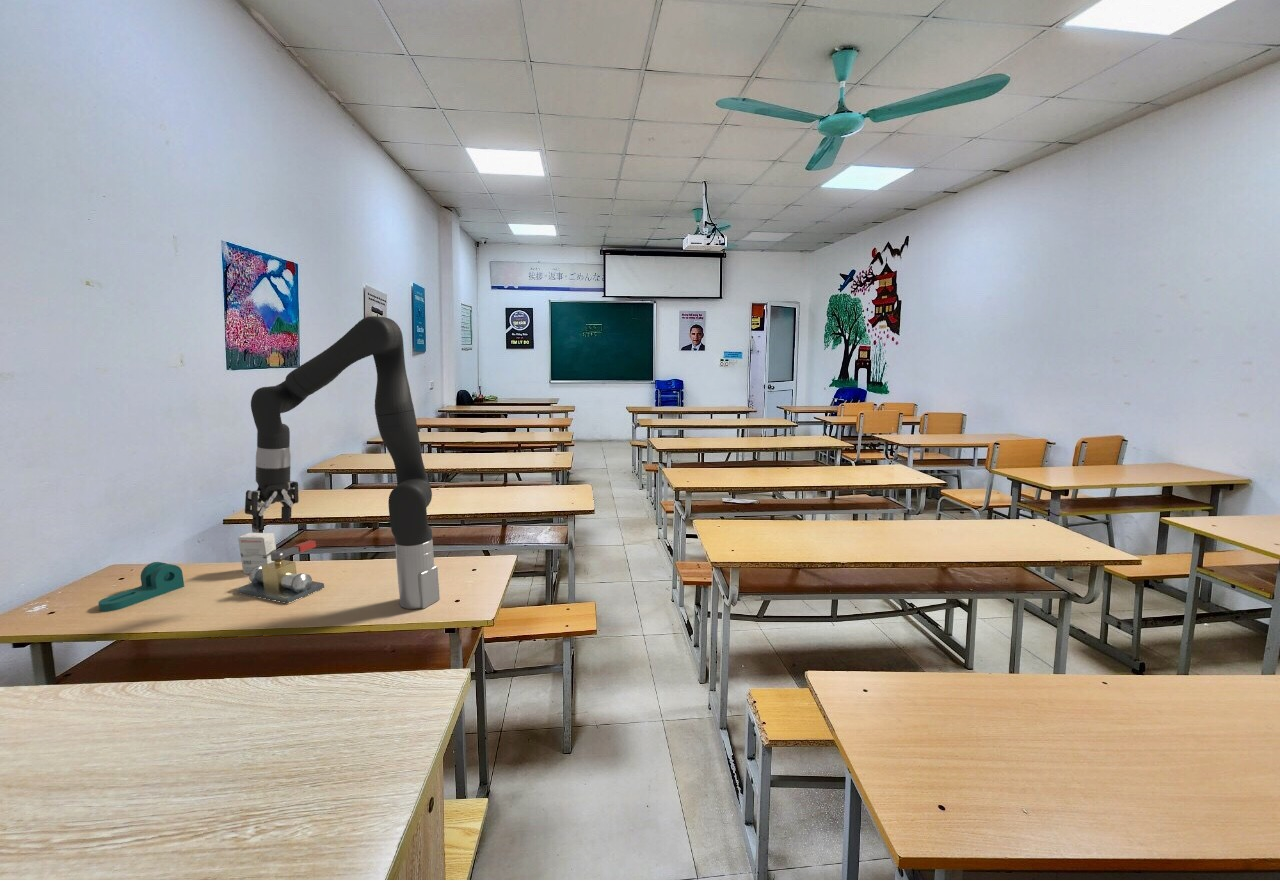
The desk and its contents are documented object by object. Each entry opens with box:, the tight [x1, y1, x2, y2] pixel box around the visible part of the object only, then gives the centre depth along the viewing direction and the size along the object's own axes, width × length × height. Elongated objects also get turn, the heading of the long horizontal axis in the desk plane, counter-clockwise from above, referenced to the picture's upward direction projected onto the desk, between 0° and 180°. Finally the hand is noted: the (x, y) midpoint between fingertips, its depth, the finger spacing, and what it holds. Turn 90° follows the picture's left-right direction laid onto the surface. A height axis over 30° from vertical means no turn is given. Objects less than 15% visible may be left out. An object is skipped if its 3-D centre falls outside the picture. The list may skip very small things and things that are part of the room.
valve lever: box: [271, 539, 317, 561], centre depth 165 cm, size 3×13×2 cm, turn 158°
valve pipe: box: [237, 559, 325, 604], centre depth 162 cm, size 20×11×9 cm, turn 68°
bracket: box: [97, 561, 185, 613], centre depth 159 cm, size 18×7×8 cm, turn 159°
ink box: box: [238, 532, 277, 575], centre depth 176 cm, size 9×5×12 cm, turn 84°
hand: (272, 524), depth 150 cm, fingers open, 8 cm apart
